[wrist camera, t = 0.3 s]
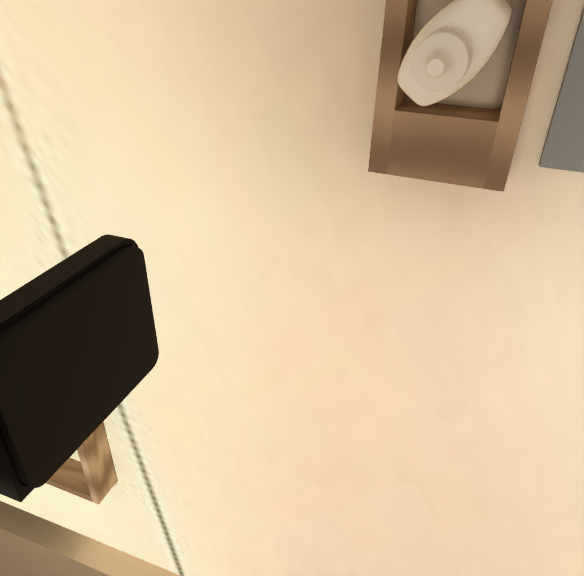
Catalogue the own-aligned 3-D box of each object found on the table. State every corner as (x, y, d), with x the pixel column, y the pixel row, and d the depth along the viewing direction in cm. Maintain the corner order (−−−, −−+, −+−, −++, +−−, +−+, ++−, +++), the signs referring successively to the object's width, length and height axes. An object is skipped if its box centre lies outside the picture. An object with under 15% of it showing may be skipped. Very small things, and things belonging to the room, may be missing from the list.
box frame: (-32, 328, 67) (-60, 346, 64) (89, 365, 61) (65, 387, 58) (11, 440, 78) (-11, 460, 75) (117, 480, 73) (98, 504, 69)
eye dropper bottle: (407, 15, 31) (355, 37, 22) (506, -25, 29) (496, -20, 19) (426, 88, 33) (385, 138, 23) (521, 56, 30) (518, 98, 21)
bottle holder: (412, -136, 28) (401, -145, 25) (585, -141, 25) (591, -151, 23) (378, 157, 36) (368, 171, 34) (505, 175, 34) (503, 191, 32)
